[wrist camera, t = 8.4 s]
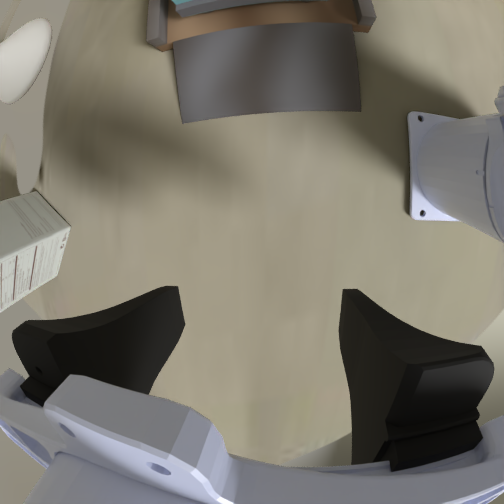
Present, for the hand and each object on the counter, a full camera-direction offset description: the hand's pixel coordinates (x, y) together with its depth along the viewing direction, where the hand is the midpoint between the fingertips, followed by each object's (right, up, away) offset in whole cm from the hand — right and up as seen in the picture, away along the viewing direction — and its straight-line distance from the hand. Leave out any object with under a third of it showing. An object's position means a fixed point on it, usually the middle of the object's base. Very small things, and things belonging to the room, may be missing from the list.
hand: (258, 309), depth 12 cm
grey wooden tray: (0, +20, +4) cm, 21 cm away
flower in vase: (-28, +25, +7) cm, 38 cm away
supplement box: (-23, +4, +13) cm, 27 cm away
